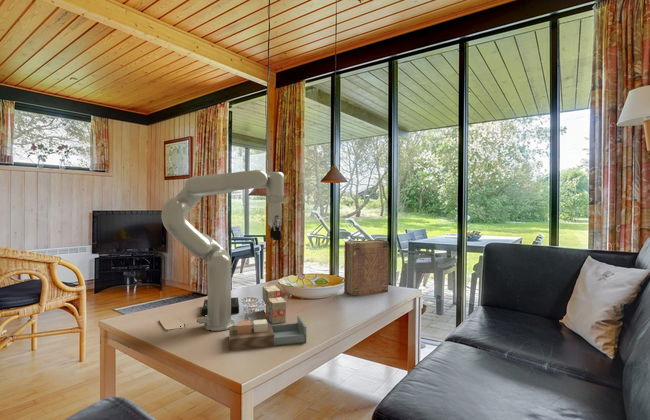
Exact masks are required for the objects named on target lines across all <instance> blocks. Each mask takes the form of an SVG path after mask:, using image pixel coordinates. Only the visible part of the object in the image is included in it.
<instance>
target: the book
mask: <svg viewBox="0 0 650 420" xmlns="http://www.w3.org/2000/svg"><path fill="white" fill-rule="evenodd" d="M389 248H390V247H389V241H387V240H381V239H372V240H359V241H358V240H355V241H344V269H343V270H344V275H343V276H344V278H343V281H344V282H343V283H344V284H343V285H344V288H343V289H344V291H343V292H344V294H349V295H351V296H353V297H358V296H364V295H365V296H366V295H372V294H379V293H385V292H389Z"/></svg>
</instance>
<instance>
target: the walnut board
mask: <svg viewBox="0 0 650 420" xmlns="http://www.w3.org/2000/svg"><path fill="white" fill-rule="evenodd" d="M267 323H268V331H265V332H254V329H253V323H251V333H244V334H238V331H237V325H234V326H229V329H228V331H229V333H228V336H229V338H228V339H229V340H228V343H229V347H228V348H229V350H228V351H236V350H237V351H239V350H246V349H247V350H248V349H256V348H267V347H275V344H274V332H273V330H272V327H271V325H272V323H271V322H267Z"/></svg>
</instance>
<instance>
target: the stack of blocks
mask: <svg viewBox="0 0 650 420" xmlns="http://www.w3.org/2000/svg"><path fill="white" fill-rule="evenodd" d="M281 291H282V290H281V289H280V288H279V287H277V285H276V284H273V285H263V286H262V301H263V300H264V302H265V304H266V315H265V316H266V317H267V319H268V320H269V321H270V322H269V323H270V324H271V325H276V324H285V323H287V322H286V320H287V319H286V317H287V315H286V314H287V313H286V312H287V311H286V310H287V301H286V300H285V299H284V298H283V297H282V292H281Z"/></svg>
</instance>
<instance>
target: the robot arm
mask: <svg viewBox="0 0 650 420" xmlns="http://www.w3.org/2000/svg"><path fill="white" fill-rule="evenodd" d="M265 188H266V204H268V210H267V211H268V212H267V213H268V215H267V216H268V217H267V224H268V226H270V230H269V231H270V232H269V234H270V235H269V236H270V238H271V239H272V240H273V241H281V240H282V237H281V236H282V231H281V226H282V221H283V220H282V218H283V215H282V213H283V211H282V204H284V203H285V174H284V173H283V172H282V171H269V172H265V171H263V170H261V169H254V170H252V169H251V170H246V171H243V170H242V171H236V172H224V173H216V174H215V173H214V174H207V175H206V174H205V175H204V174H203V175H195V176H192V177H191V176H190V177H188V178H187V179H186V180H185V183H184V187H183V188H182V189H181V190H180V191H179V193H178V194H177V195H175V197H171V198H169V199H167V200H166V202H165V203H164V204H163V207H162V209H161V222H162V224H163V227H164V228H165V230H166V231H167V233H168V234H169V235H171V236H172V237H173V238H174V239H175V240H176V241H177V242H178V243H179V244H181V245H182V247H184V248H185V249H186V250H187V251H188V252H189V253H190V255H192V256H194V257H196V258H201V259H202V261H204V262H205V263H206V274H207V275H206V277H207V282H206V283H207V285H206V286H207V299H208V315H207V316H204V317H197V318H196V323H197V324H199V325H200V324H203V328H204V330H207V331H209V330H211V332H220V331H221V332H222V331H227V330H229V326H236V324H235V321H234V320H233V319H232V314H231V298H232V287H231V286H232V279H231V277H232V260H231V256H230V253H229V252H228V251H227V250H226V249H225V248H223V246H222V245H220V244H219V243H218V242H217V241H216V240H215V239H214V238H212V237H211V236H210V235H209V234H206V233H203V232H200V231H199V230H198V229H197V228H195V226H194V225H193V224H192V223H190V222H189V221H188V220H187V219H186V215H188V213H190V211H191V210H192V209H193V208H194V207H195V205H197V203H199V201H200V200H201V199H202V197H206V196H212V195H213V196H215V195H221V194H229V193H233V192H236V191H243V190H244V191H245V190H252V189H256V190H257V189H265Z"/></svg>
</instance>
